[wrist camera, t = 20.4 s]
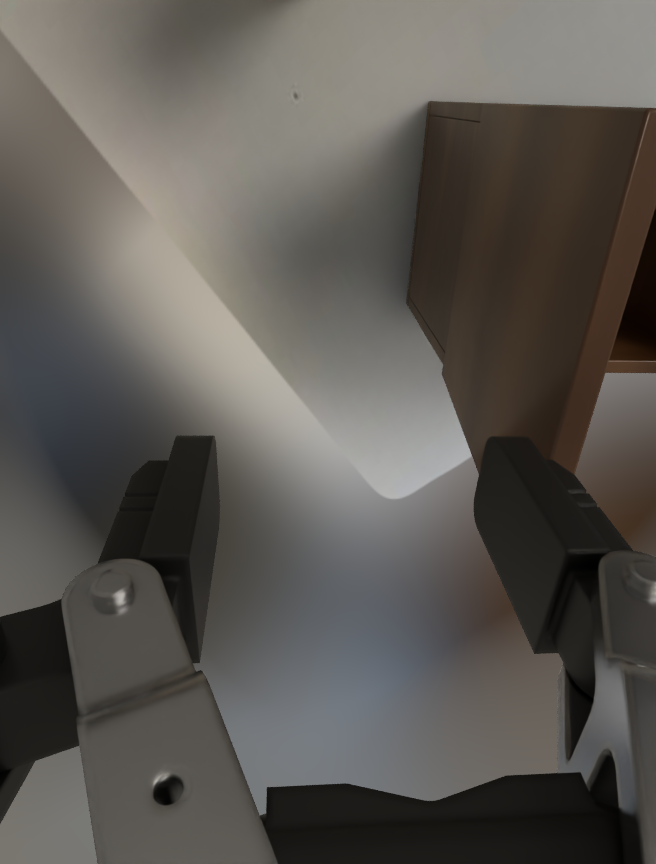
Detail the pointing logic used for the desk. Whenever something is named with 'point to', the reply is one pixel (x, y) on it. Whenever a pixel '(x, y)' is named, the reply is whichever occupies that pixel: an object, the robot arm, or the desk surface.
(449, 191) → the chest
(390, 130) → the desk surface
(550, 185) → the lid
